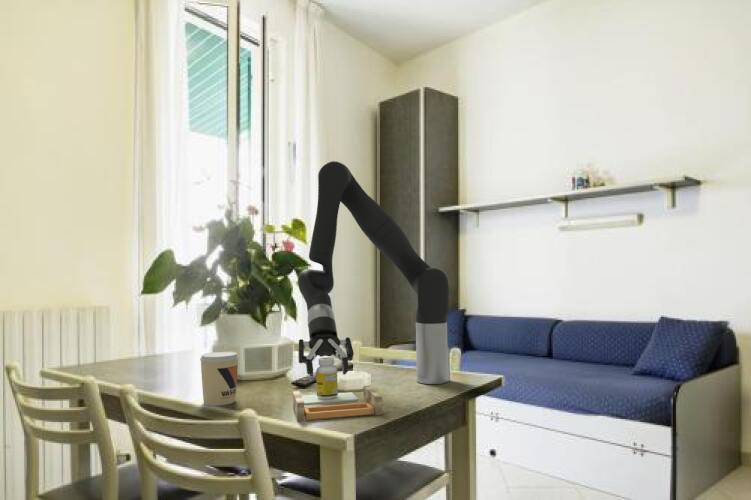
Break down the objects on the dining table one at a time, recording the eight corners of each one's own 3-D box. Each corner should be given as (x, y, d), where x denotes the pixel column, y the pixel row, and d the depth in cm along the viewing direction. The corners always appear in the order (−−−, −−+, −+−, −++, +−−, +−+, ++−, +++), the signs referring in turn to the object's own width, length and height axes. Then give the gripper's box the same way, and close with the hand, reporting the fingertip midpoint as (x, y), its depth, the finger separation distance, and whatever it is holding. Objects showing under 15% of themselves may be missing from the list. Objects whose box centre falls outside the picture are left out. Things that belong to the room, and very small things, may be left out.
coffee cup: (224, 407, 125) (224, 357, 126) (192, 405, 128) (192, 356, 129) (245, 398, 134) (245, 352, 135) (215, 396, 137) (215, 350, 138)
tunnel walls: (292, 407, 124) (292, 390, 124) (369, 401, 129) (369, 385, 129) (297, 421, 112) (297, 403, 112) (382, 414, 117) (382, 396, 117)
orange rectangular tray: (303, 414, 118) (303, 407, 118) (367, 409, 121) (367, 402, 122) (306, 420, 113) (306, 413, 113) (373, 415, 116) (373, 408, 116)
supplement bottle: (314, 396, 134) (313, 357, 135) (334, 393, 136) (333, 356, 136) (319, 400, 129) (319, 360, 129) (340, 398, 131) (339, 359, 131)
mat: (299, 397, 134) (299, 395, 134) (351, 393, 138) (351, 392, 138) (302, 404, 127) (302, 403, 127) (358, 400, 130) (358, 399, 130)
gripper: (296, 316, 139) (301, 366, 127) (348, 314, 142) (358, 363, 130) (295, 334, 144) (299, 384, 132) (345, 331, 147) (354, 380, 135)
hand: (328, 373), depth 131 cm, fingers open, 8 cm apart
